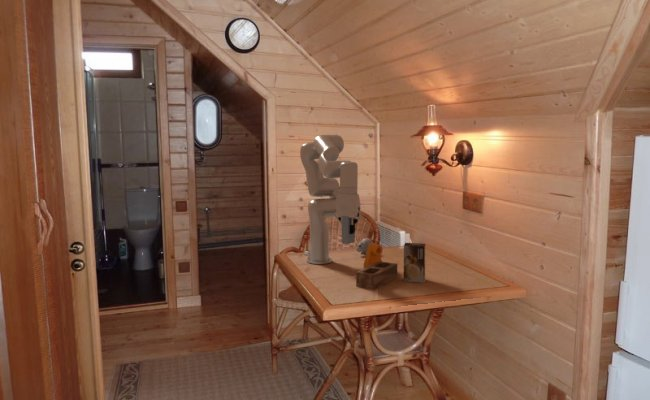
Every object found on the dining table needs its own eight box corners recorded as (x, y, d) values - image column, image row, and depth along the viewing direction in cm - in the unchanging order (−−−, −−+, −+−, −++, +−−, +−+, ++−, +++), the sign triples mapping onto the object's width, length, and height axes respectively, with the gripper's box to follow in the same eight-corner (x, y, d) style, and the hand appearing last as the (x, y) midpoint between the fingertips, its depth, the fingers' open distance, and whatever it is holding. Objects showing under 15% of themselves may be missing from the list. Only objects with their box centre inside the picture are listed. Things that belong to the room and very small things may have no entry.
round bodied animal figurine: (351, 255, 266) (351, 239, 265) (365, 251, 274) (366, 236, 273) (361, 257, 261) (361, 241, 260) (376, 253, 269) (376, 238, 268)
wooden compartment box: (356, 286, 212) (356, 272, 211) (379, 273, 230) (379, 261, 229) (375, 289, 207) (375, 275, 206) (397, 276, 225) (397, 263, 225)
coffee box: (425, 279, 222) (426, 243, 220) (424, 283, 216) (425, 246, 214) (404, 277, 224) (405, 242, 222) (402, 281, 218) (403, 245, 216)
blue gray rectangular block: (341, 243, 216) (341, 215, 214) (348, 240, 221) (348, 213, 219) (347, 244, 214) (348, 216, 213) (354, 241, 219) (354, 214, 218)
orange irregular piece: (375, 273, 232) (375, 247, 231) (363, 270, 237) (363, 245, 236) (390, 268, 240) (390, 244, 238) (378, 265, 245) (378, 241, 243)
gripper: (327, 190, 216) (327, 232, 218) (361, 192, 207) (361, 236, 210) (336, 189, 222) (336, 229, 225) (369, 191, 214) (369, 233, 216)
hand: (348, 232), depth 217 cm, fingers closed on blue gray rectangular block, 3 cm apart
